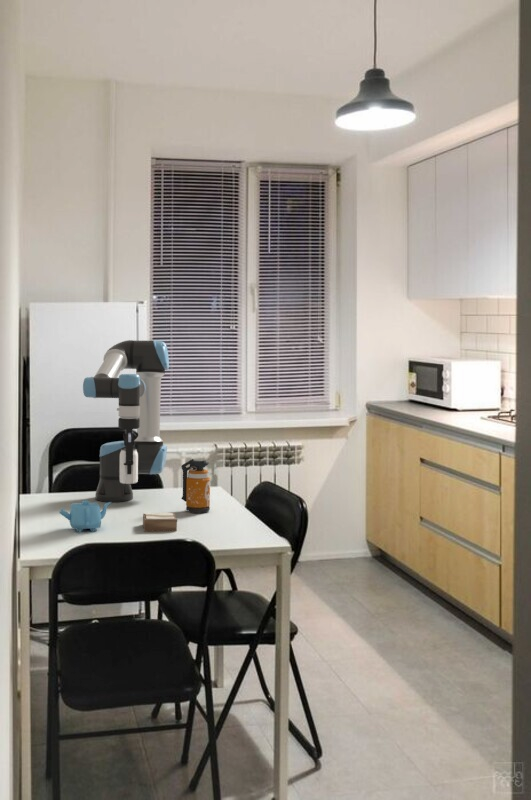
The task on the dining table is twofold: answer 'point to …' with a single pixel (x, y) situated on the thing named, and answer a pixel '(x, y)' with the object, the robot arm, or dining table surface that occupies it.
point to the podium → (159, 522)
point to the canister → (196, 486)
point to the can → (122, 466)
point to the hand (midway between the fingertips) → (128, 481)
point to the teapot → (85, 515)
